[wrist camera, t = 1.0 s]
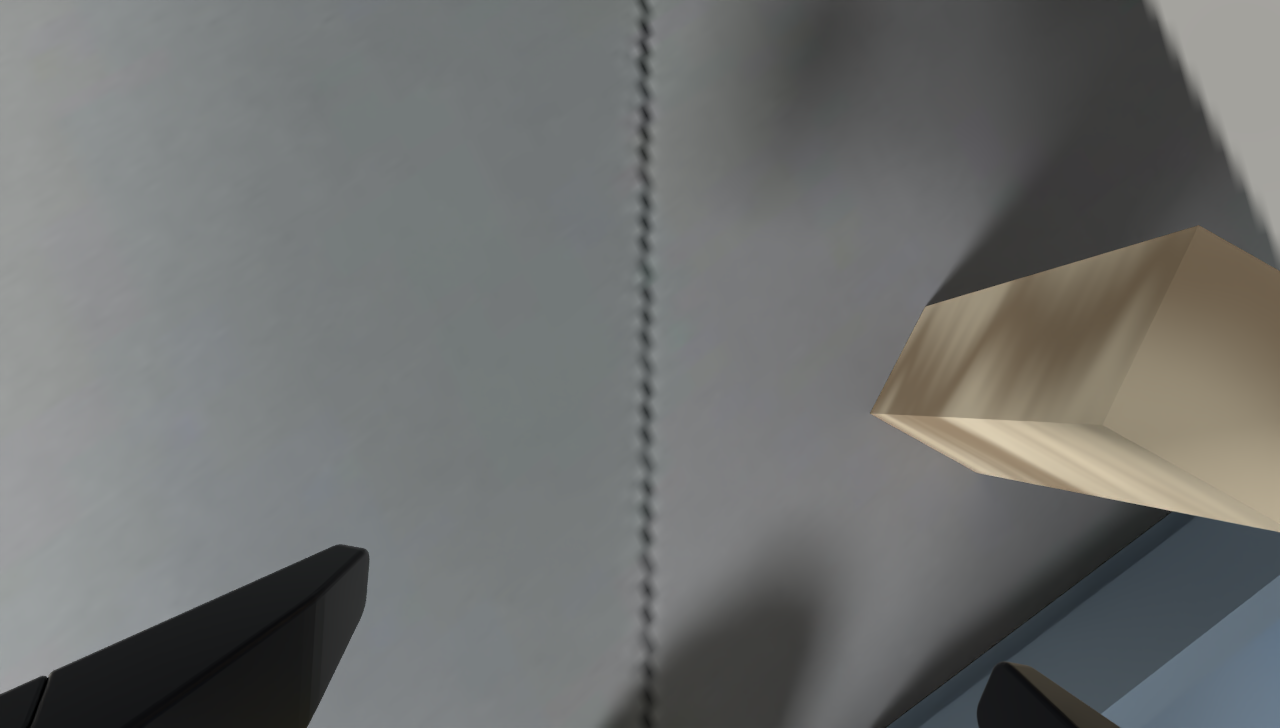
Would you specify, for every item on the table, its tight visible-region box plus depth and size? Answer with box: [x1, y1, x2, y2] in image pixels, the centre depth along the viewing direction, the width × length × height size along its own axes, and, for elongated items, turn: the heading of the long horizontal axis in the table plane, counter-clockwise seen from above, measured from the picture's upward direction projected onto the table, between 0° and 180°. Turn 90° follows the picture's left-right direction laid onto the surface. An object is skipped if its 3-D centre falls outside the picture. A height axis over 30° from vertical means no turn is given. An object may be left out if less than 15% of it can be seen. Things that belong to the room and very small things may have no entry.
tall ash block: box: [870, 225, 1280, 532], centre depth 18 cm, size 5×5×11 cm
